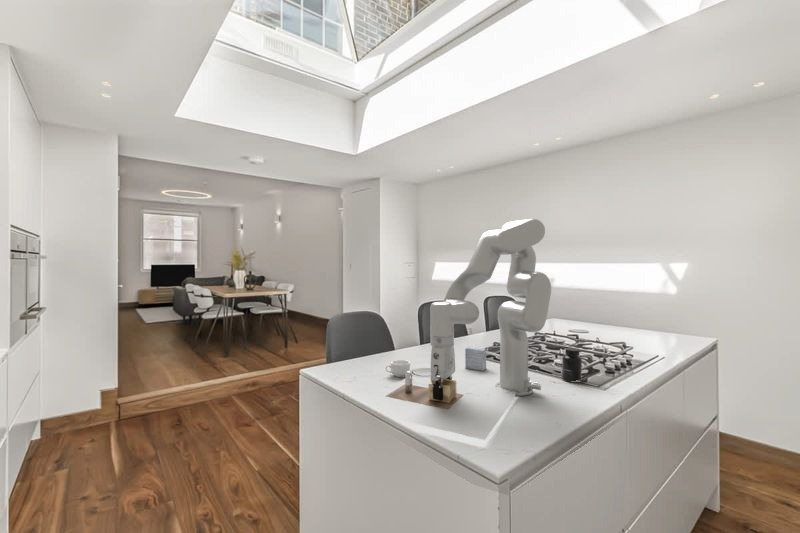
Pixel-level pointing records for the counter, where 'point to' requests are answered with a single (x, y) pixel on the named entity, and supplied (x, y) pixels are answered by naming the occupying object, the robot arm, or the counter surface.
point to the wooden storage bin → (445, 390)
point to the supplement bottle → (571, 365)
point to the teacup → (399, 367)
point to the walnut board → (421, 397)
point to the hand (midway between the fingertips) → (442, 395)
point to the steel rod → (408, 382)
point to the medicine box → (475, 358)
